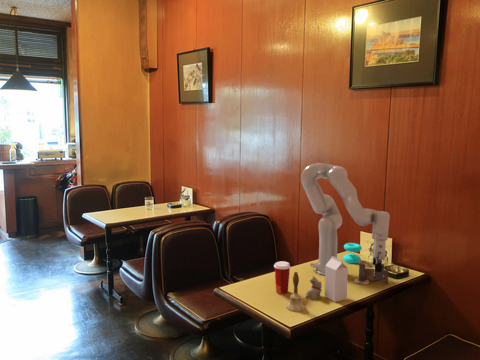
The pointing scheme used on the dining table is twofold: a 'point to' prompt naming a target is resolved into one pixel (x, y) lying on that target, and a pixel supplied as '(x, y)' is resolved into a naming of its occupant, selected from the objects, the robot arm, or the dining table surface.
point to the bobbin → (361, 274)
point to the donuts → (352, 248)
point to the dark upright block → (380, 273)
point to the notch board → (370, 276)
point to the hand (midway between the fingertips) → (376, 268)
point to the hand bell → (295, 297)
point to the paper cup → (282, 277)
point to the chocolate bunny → (314, 289)
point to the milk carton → (336, 280)
